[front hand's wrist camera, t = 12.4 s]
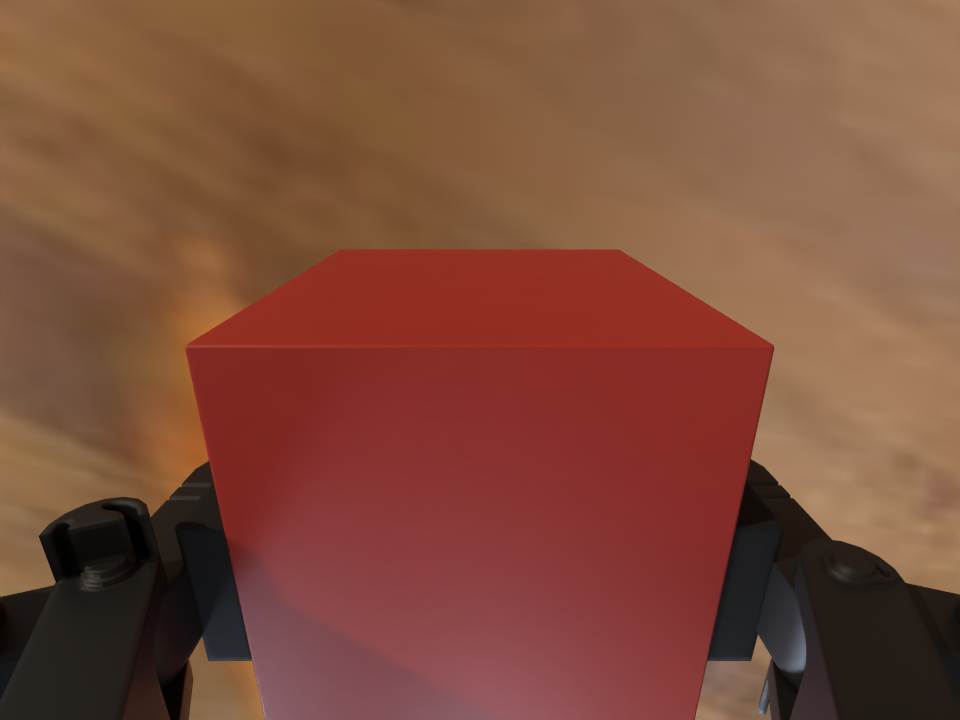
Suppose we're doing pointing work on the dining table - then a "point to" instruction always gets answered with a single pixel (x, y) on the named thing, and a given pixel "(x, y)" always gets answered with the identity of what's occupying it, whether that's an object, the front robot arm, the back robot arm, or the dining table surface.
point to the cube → (479, 483)
